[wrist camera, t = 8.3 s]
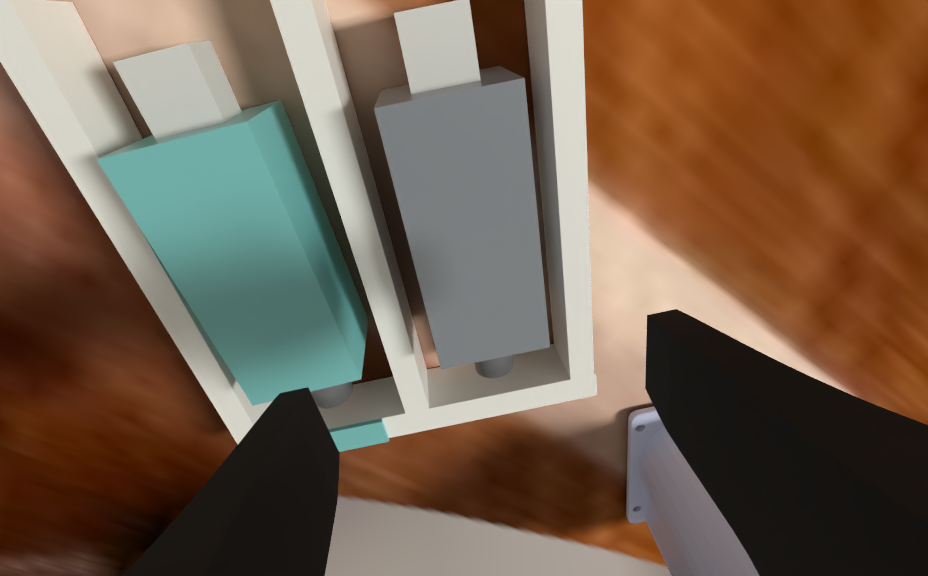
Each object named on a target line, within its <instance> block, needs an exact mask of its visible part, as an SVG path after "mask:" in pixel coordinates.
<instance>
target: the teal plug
mask: <svg viewBox="0 0 928 576" xmlns="http://www.w3.org/2000/svg"><path fill="white" fill-rule="evenodd" d="M113 64H114V66H115V67H116V69H117V71H118V73H119V75H120V76H121V78H122V80H123V82H124V84H125V85H126V87H127V89H128V91H129V93H130V94H131V96H132V98H133V100H134V102H135V104H136V105H137V107H138V109H139V111H140V113H141V114H142V116H143V118H144V120H145V122H146V123H147V125H148V127H149V129H150V131H151V132H152V134H153V135H150V136H148V137H146V138H144V139H141V140H139V141H137V142H135V143H132V144H130V145H128V146H126V147H124V148H121V149H119V150H117V151H115V152H112V153H110V154H108V155H106V156H103V157H101V158H99V159H97V161H98V163H99V164H100V166H101V167H102V169H103V171H104V172H105V174H106V175H107V177H108V178H109V180H110V182H111V183H112V185H113V186H114V188H115V190H116V191H117V193H118V194H119V196H120V197H121V199H122V201H123V202H124V204H125V205H126V207H127V208H128V210H129V212H130V213H131V215H132V216H133V218H134V219H135V221H136V223H137V224H138V226H139V227H140V229H141V231H142V232H143V234H144V235H145V237H146V238H147V240H148V242H149V243H150V245H151V246H152V248H153V249H154V251H155V253H156V254H157V256H158V257H159V259H160V260H161V262H162V264H163V265H164V267H165V268H166V270H167V272H168V273H169V275H170V276H171V278H172V279H173V281H174V283H175V284H176V286H177V287H178V289H179V290H180V292H181V294H182V295H183V297H184V298H185V300H186V301H187V303H188V305H189V306H190V308H191V309H192V311H193V313H194V314H195V316H196V317H197V319H198V320H199V322H200V324H201V325H202V327H203V328H204V330H205V331H206V333H207V335H208V336H209V338H210V339H211V341H212V342H213V344H214V346H215V347H216V349H217V350H218V352H219V354H220V355H221V357H222V358H223V360H224V361H225V363H226V365H227V366H228V368H229V369H230V371H231V372H232V374H233V376H234V377H235V379H236V380H237V382H238V383H239V385H240V387H241V388H242V390H243V391H244V393H245V395H246V396H247V398H248V399H249V401H250V402H251V404H252V406H254V405H258V404H263V403H267V402H271V401H273V400H274V399H275V398H276V397H277V396H278V395H279V393H283V392H288V391H292V390H297V389H302V388H307V387H308V388H309V390H310V392H311V394H312V396H313V398H314V400H315V403H316V405H317V406H318V407H320V408H332V407H336V406H338V405H340V404H342V403H343V402H344V401H346V400H347V399H348V398H349V397H350V395H351V393H352V391H353V385H352V383H351V382H352V381H356V380H361V378H362V369H363V361H364V353H365V345H366V336H367V328H368V317H367V315H366V312H365V310H364V307H363V305H362V302H361V300H360V297H359V295H358V292H357V290H356V287H355V285H354V282H353V280H352V277H351V274H350V272H349V269H348V267H347V264H346V262H345V259H344V257H343V254H342V252H341V249H340V247H339V244H338V242H337V239H336V237H335V234H334V232H333V229H332V227H331V224H330V222H329V219H328V217H327V214H326V212H325V209H324V207H323V204H322V202H321V199H320V197H319V194H318V192H317V189H316V187H315V184H314V181H313V179H312V176H311V174H310V171H309V169H308V166H307V164H306V161H305V159H304V156H303V154H302V151H301V149H300V146H299V144H298V141H297V139H296V136H295V134H294V131H293V129H292V126H291V124H290V121H289V119H288V116H287V114H286V111H285V109H284V106H283V104H282V101H281V100H279V101H275V102H271V103H267V104H263V105H259V106H255V107H251V108H247V109H243V110H241V109H240V107H239V104H238V102H237V100H236V98H235V95H234V93H233V91H232V89H231V87H230V84H229V82H228V80H227V78H226V75H225V73H224V71H223V69H222V66H221V64H220V62H219V60H218V57H217V55H216V53H215V51H214V48H213V46H212V44H211V42H210V41H203V42H193V43H186V44H182V45H178V46H174V47H170V48H166V49H162V50H158V51H154V52H150V53H146V54H143V55H139V56H135V57H131V58H127V59H123V60H119V61H115V62H113Z"/></svg>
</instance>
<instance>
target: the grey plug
mask: <svg viewBox="0 0 928 576" xmlns="http://www.w3.org/2000/svg"><path fill="white" fill-rule="evenodd" d="M394 17H395V21H396V26H397V31H398V35H399V40H400V45H401V49H402V54H403V58H404V63H405V68H406V72H407V77H408V82H409V84H406V85H401V86H396V87H391V88H386V89H381V91H380V94H379V96H378V99H377V101H376V104H375V106H374V111H375V115H376V119H377V123H378V127H379V131H380V134H381V138H382V142H383V146H384V150H385V154H386V158H387V162H388V166H389V169H390V173H391V177H392V181H393V185H394V189H395V193H396V197H397V200H398V204H399V208H400V212H401V216H402V220H403V224H404V228H405V231H406V235H407V239H408V243H409V247H410V251H411V255H412V259H413V263H414V266H415V270H416V274H417V278H418V282H419V286H420V290H421V294H422V297H423V301H424V305H425V309H426V313H427V317H428V321H429V325H430V328H431V332H432V336H433V340H434V344H435V348H436V352H437V356H438V360H439V363H440V367H441V369H446V368H451V367H456V366H461V365H466V364H471V363H474V364H475V369H476V371H477V373H478V374H479V375H481V376H483V377H486V378H498V377H501V376H504V375H506V374H507V373H508V372H510V370H511V369H512V367H513V358H512V355H515V354H520V353H525V352H530V351H534V350H539V349H544V348H549V347H550V341H549V330H548V320H547V309H546V298H545V288H544V277H543V267H542V256H541V246H540V235H539V224H538V214H537V203H536V193H535V182H534V172H533V161H532V150H531V140H530V129H529V119H528V108H527V98H526V87H525V78H524V77H522V76H520V75H518V74H515V73H513V72H511V71H509V70H507V69H505V68H503V67H501V66H496V67H491V68H486V69H481V70H479V65H478V58H477V51H476V44H475V36H474V29H473V22H472V15H471V8H470V1H469V0H456V1H451V2H446V3H441V4H436V5H431V6H426V7H421V8H416V9H411V10H406V11H401V12H396V13H394Z"/></svg>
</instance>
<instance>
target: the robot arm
mask: <svg viewBox="0 0 928 576" xmlns="http://www.w3.org/2000/svg"><path fill="white" fill-rule="evenodd" d="M645 388H646V390H647V393H648V395H649V397H650V399H651V401H652V403H653V405H654V407H649V408H644V409H639V410H635V411H633V412H632V413H631V414H630V415H629V417H628V452H627V502H626V516H627V519H628V521H629V522H630V523H640V522H645V521H646V523H647V525H648V527H649V529H650V531H651V534H652V536H653V538H654V540H655V542H656V544H657V546H658V548H659V550H660V552H661V554H662V556H663V559H664V561H665V563H666V565H667V567H668V569H669V571H670V573H671V575H672V576H928V425H926V424H923V423H920V422H918V421H915V420H913V419H910V418H908V417H905V416H902V415H900V414H897V413H895V412H892V411H889V410H887V409H884V408H882V407H879V406H876V405H874V404H872V403H869V402H867V401H864V400H862V399H860V398H857V397H855V396H852V395H850V394H848V393H846V392H843V391H841V390H839V389H837V388H834V387H832V386H830V385H828V384H826V383H823V382H821V381H819V380H817V379H814V378H812V377H810V376H808V375H806V374H804V373H801V372H799V371H797V370H795V369H793V368H791V367H789V366H787V365H785V364H783V363H781V362H779V361H777V360H775V359H772V358H771V357H769V356H767V355H765V354H763V353H761V352H759V351H757V350H755V349H753V348H751V347H749V346H747V345H745V344H743V343H741V342H739V341H737V340H735V339H733V338H731V337H730V336H728V335H726V334H724V333H722V332H720V331H718V330H716V329H714V328H712V327H710V326H709V325H707V324H705V323H703V322H701V321H699V320H697V319H695V318H693V317H691V316H689V315H687V314H685V313H683V312H681V311H679V310H677V309H675V310H670V311H666V312H661V313H656V314H651V315H647V347H646V386H645ZM338 480H339V451H338V449H337V447H336V445H335V443H334V440H333V438H332V436H331V434H330V432H329V430H328V428H327V426H326V424H325V422H324V419H323V417H322V415H321V413H320V411H319V409H318V407H317V405H316V403H315V400H314V398H313V396H312V394H311V392H310V390H309V388H308V387H307V388H302V389H297V390H292V391H288V392H283V393H279V395H278V396H277V397H276V398H275V399H274V400H273V401H272V403H271V404H270V405H269V406H268V408H267V409H266V410H265V411H264V412H263V414H262V415H261V416H260V417H259V419H258V420H257V421H256V422H255V424H254V425H253V426H252V428H251V429H250V430H249V431H248V433H247V434H246V435H245V436H244V438H243V439H242V440H241V441H240V443H239V444H238V445H237V446H236V448H235V449H234V450H233V451H232V453H231V454H230V455H229V456H228V457H227V459H226V460H225V461H224V462H223V464H222V465H221V466H220V467H219V469H218V470H217V471H216V472H215V474H214V475H213V476H212V477H211V478H210V480H209V481H208V482H207V483H206V484H205V485H204V487H203V488H202V489H201V490H200V491H199V492H198V493H197V495H196V496H195V497H194V498H193V499H192V500H191V502H190V503H189V504H188V505H187V506H186V507H185V508H184V510H183V511H182V512H181V513H180V514H179V515H178V516H177V518H176V519H175V520H174V521H173V522H172V523H171V524H170V526H169V527H168V528H167V529H166V530H165V531H164V532H163V534H162V535H161V536H160V537H159V538H158V539H157V540H156V541H155V542H154V543H153V544H152V545H151V546H150V548H149V549H148V550H147V551H146V552H145V553H144V554H143V555H142V556H141V557H140V558H139V559H138V560H137V561H136V562H135V563H134V564H133V565H132V566H131V567H130V568H129V569H128V570H127V571H126V572H125V573H124V574H123V575H122V576H324V575H325V570H326V564H327V558H328V553H329V547H330V541H331V535H332V529H333V523H334V517H335V511H336V505H337V497H338Z"/></svg>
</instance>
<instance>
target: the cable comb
mask: <svg viewBox="0 0 928 576" xmlns="http://www.w3.org/2000/svg"><path fill="white" fill-rule="evenodd" d="M270 2H271V5H272V8H273V11H274V14H275V17H276V20H277V23H278V26H279V29H280V32H281V35H282V39H283V42H284V45H285V48H286V51H287V54H288V57H289V60H290V63H291V66H292V69H293V72H294V75H295V78H296V81H297V84H298V87H299V90H300V93H301V96H302V99H303V103H304V106H305V109H306V112H307V115H308V118H309V121H310V124H311V127H312V130H313V133H314V136H315V139H316V142H317V145H318V148H319V151H320V154H321V157H322V160H323V163H324V167H325V170H326V173H327V176H328V179H329V182H330V185H331V188H332V191H333V194H334V197H335V200H336V203H337V206H338V209H339V212H340V215H341V218H342V221H343V224H344V227H345V231H346V234H347V237H348V240H349V243H350V246H351V249H352V252H353V255H354V258H355V261H356V264H357V267H358V270H359V273H360V276H361V279H362V282H363V285H364V288H365V291H366V295H367V298H368V301H369V304H370V307H371V310H372V313H373V316H374V319H375V322H376V325H377V328H378V331H379V334H380V337H381V340H382V343H383V346H384V349H385V352H386V355H387V358H388V362H389V365H390V368H391V371H392V374H393V377H388V378H383V379H378V380H373V381H368V382H363V383H358V384H353V391H352V393H351V395H350V397H349V398H348V399H347V400H346V401H344V402H343V403H342V404H340V405H338V406H336V407H332V408H320V407H318V406H317V407H318V409H319V411H320V413H321V415H322V417H323V419H324V422H325V424H326V426H327V428H328V430H329V432H330V434H331V436H332V438H333V440H334V443H335V445H336V447H337V449H338V451H339V452H341V451H346V450H350V449H355V448H360V447H365V446H370V445H375V444H380V443H384V442H389V438H391V437H396V436H401V435H406V434H411V433H415V432H420V431H425V430H430V429H435V428H440V427H445V426H450V425H454V424H459V423H464V422H469V421H474V420H479V419H484V418H489V417H493V416H498V415H503V414H508V413H513V412H518V411H523V410H528V409H532V408H537V407H542V406H547V405H552V404H557V403H562V402H567V401H571V400H576V399H581V398H586V397H591V396H596V395H597V383H596V373H595V371H594V362H593V330H592V298H591V266H590V235H589V203H588V171H587V140H586V108H585V76H584V45H583V13H582V0H524V5H525V16H526V28H527V39H528V51H529V62H530V74H531V85H532V97H533V108H534V120H535V132H536V143H537V155H538V166H539V178H540V189H541V201H542V212H543V224H544V235H545V247H546V259H547V270H548V282H549V293H550V305H551V316H552V328H553V339H554V344H550V347H549V348H544V349H539V350H534V351H530V352H525V353H520V354H515V355H512V358H513V367H512V369H511V370H510V372H508V373H507V374H506V375H504V376H501V377H498V378H486V377H483V376H481V375H479V374H478V373H477V371H476V369H475V364H474V363H471V364H466V365H461V366H456V367H451V368H446V369H441V367H437V368H432V369H427V368H426V365H425V361H424V357H423V354H422V350H421V347H420V343H419V339H418V336H417V332H416V328H415V325H414V321H413V318H412V314H411V310H410V307H409V303H408V299H407V296H406V292H405V289H404V285H403V281H402V278H401V274H400V270H399V267H398V263H397V260H396V256H395V252H394V249H393V245H392V241H391V238H390V234H389V231H388V227H387V223H386V220H385V216H384V212H383V209H382V205H381V202H380V198H379V194H378V191H377V187H376V183H375V180H374V176H373V173H372V169H371V165H370V162H369V158H368V154H367V151H366V147H365V144H364V140H363V136H362V133H361V129H360V125H359V122H358V118H357V115H356V111H355V107H354V104H353V100H352V96H351V93H350V89H349V86H348V82H347V78H346V75H345V71H344V67H343V64H342V60H341V57H340V53H339V49H338V46H337V42H336V38H335V35H334V31H333V28H332V24H331V20H330V17H329V13H328V9H327V6H326V2H325V0H270ZM0 62H1V64H2V65H3V67H4V69H5V70H6V72H7V73H8V75H9V77H10V78H11V80H12V81H13V83H14V85H15V86H16V88H17V90H18V91H19V93H20V94H21V96H22V98H23V99H24V101H25V102H26V104H27V106H28V107H29V109H30V110H31V112H32V114H33V115H34V117H35V119H36V120H37V122H38V123H39V125H40V127H41V128H42V130H43V131H44V133H45V135H46V136H47V138H48V139H49V141H50V143H51V144H52V146H53V148H54V149H55V151H56V152H57V154H58V156H59V157H60V159H61V160H62V162H63V164H64V165H65V167H66V168H67V170H68V172H69V173H70V175H71V177H72V178H73V180H74V181H75V183H76V185H77V186H78V188H79V189H80V191H81V193H82V194H83V196H84V197H85V199H86V201H87V202H88V204H89V206H90V207H91V209H92V210H93V212H94V214H95V215H96V217H97V218H98V220H99V222H100V223H101V225H102V226H103V228H104V230H105V231H106V233H107V235H108V236H109V238H110V239H111V241H112V243H113V244H114V246H115V247H116V249H117V251H118V252H119V254H120V255H121V257H122V259H123V260H124V262H125V264H126V265H127V267H128V268H129V270H130V272H131V273H132V275H133V276H134V278H135V280H136V281H137V283H138V284H139V286H140V288H141V289H142V291H143V293H144V294H145V296H146V297H147V299H148V301H149V302H150V304H151V305H152V307H153V309H154V310H155V312H156V313H157V315H158V317H159V318H160V320H161V322H162V323H163V325H164V326H165V328H166V330H167V331H168V333H169V334H170V336H171V338H172V339H173V341H174V342H175V344H176V346H177V347H178V349H179V351H180V352H181V354H182V355H183V357H184V359H185V360H186V362H187V363H188V365H189V367H190V368H191V370H192V371H193V373H194V375H195V376H196V378H197V380H198V381H199V383H200V384H201V386H202V388H203V389H204V391H205V392H206V394H207V396H208V397H209V399H210V400H211V402H212V404H213V405H214V407H215V409H216V410H217V412H218V413H219V415H220V417H221V418H222V420H223V421H224V423H225V425H226V426H227V428H228V429H229V431H230V433H231V434H232V436H233V438H234V439H235V441H236V442H237V444H239V443H240V441H241V440H242V439H243V438H244V436H245V435H246V434H247V433H248V431H249V430H250V429H251V428H252V426H253V425H254V424H255V422H256V421H257V420H258V419H259V417H260V416H261V415H262V414H263V412H264V411H265V410H266V409H267V408H268V406H269V405H270V404H271V403H272V401H271V402H267V403H263V404H258V405H254V406H252V404H251V402H250V401H249V399H248V398H247V396H246V395H245V393H244V391H243V390H242V388H241V387H240V385H239V383H238V382H237V380H236V379H235V377H234V376H233V374H232V372H231V371H230V369H229V368H228V366H227V365H226V363H225V361H224V360H223V358H222V357H221V355H220V354H219V352H218V350H217V349H216V347H215V346H214V344H213V342H212V341H211V339H210V338H209V336H208V335H207V333H206V331H205V330H204V328H203V327H202V325H201V324H200V322H199V320H198V319H197V317H196V316H195V314H194V313H193V311H192V309H191V308H190V306H189V305H188V303H187V301H186V300H185V298H184V297H183V295H182V294H181V292H180V290H179V289H178V287H177V286H176V284H175V283H174V281H173V279H172V278H171V276H170V275H169V273H168V272H167V270H166V268H165V267H164V265H163V264H162V262H161V260H160V259H159V257H158V256H157V254H156V253H155V251H154V249H153V248H152V246H151V245H150V243H149V242H148V240H147V238H146V237H145V235H144V234H143V232H142V231H141V229H140V227H139V226H138V224H137V223H136V221H135V219H134V218H133V216H132V215H131V213H130V212H129V210H128V208H127V207H126V205H125V204H124V202H123V201H122V199H121V197H120V196H119V194H118V193H117V191H116V190H115V188H114V186H113V185H112V183H111V182H110V180H109V178H108V177H107V175H106V174H105V172H104V171H103V169H102V167H101V166H100V164H99V163H98V161H97V159H99V158H101V157H103V156H106V155H108V154H110V153H112V152H115V151H117V150H119V149H121V148H124V147H126V146H128V145H130V144H132V143H135V142H137V141H139V140H141V139H143V138H142V136H141V134H140V132H139V130H138V128H137V126H136V124H135V123H134V121H133V119H132V117H131V115H130V113H129V111H128V109H127V107H126V105H125V103H124V101H123V99H122V97H121V95H120V93H119V92H118V90H117V88H116V86H115V84H114V82H113V80H112V78H111V76H110V74H109V72H108V70H107V68H106V66H105V64H104V63H103V61H102V59H101V57H100V55H99V53H98V51H97V49H96V47H95V45H94V43H93V41H92V39H91V37H90V35H89V34H88V32H87V30H86V28H85V26H84V24H83V22H82V20H81V18H80V16H79V14H78V12H77V10H76V8H75V6H74V5H73V3H72V2H63V1H47V0H0Z"/></svg>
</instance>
